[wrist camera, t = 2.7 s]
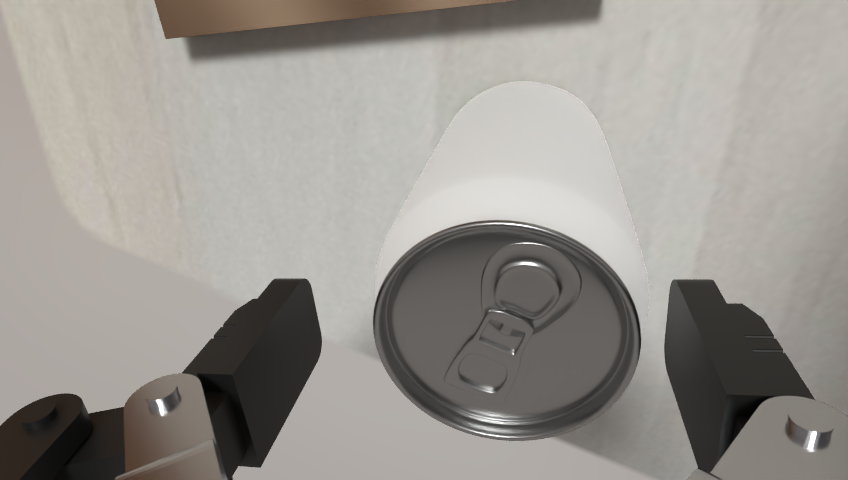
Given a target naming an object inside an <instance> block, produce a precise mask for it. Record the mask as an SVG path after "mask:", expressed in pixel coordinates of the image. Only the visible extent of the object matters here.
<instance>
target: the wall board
mask: <svg viewBox="0 0 848 480" xmlns="http://www.w3.org/2000/svg"><path fill="white" fill-rule="evenodd" d="M507 1H517V0H155V4H156V7H157V11H158V14H159V17H160V21H161V24H162V28H163V31H164V34H165V38H166V39H170V38H179V37H188V36H197V35H207V34H216V33H225V32H234V31H243V30H252V29H261V28H270V27H279V26H289V25H298V24H307V23H316V22H325V21H334V20H343V19H352V18H362V17H371V16H380V15H389V14H398V13H407V12H416V11H425V10H434V9H444V8H453V7H462V6H471V5H480V4H489V3H498V2H507Z"/></svg>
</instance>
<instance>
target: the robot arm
mask: <svg viewBox="0 0 848 480" xmlns="http://www.w3.org/2000/svg"><path fill="white" fill-rule="evenodd" d="M321 346H322V337H321V331H320V326H319V321H318V316H317V312H316V307H315V302H314V297H313V293H312V288H311V285H310V283H309V281H308V280H307V279H274V280H273V281H272V282H271V283H270V284H269V285H268V287H267V288H266V289H265V290H264V291H263V293H262V294H261V295H260V296H259V298H258V299H252V300H251V301H249V302H248V303H246V304H245V305H243V306H242V307H240V308H239V309H237V310H235V311H234V313H233V314H232V315H231V316H230V317H229V318H228V320H227V321H226V322H225V323H224V325H223V327H221V328H220V329H219V330H218V331H217V333H216V334H215V335H214V339H211V340H210V341H209V342H208V343H207V344H206V345H205V347H204V348H203V349H202V350H201V351H200V353H199V354H198V355H197V356H196V357H195V358H194V360H193V361H192V362H191V363H190V364H189V365H188V367H187V368H186V369H185V370H184V371H183V372H182V374H181V373H179V374H172V375H167V376H163V377H161V378H158V379H155V380H153V381H151V382H149V383H147V384H145V385H144V386H142V387H141V388H139V389H138V390H137V391H136V392H134V393H133V394H132V395H131V396H130V398H129V399H128V400H127V402H126V403H125V406H124V407H121V408H116V409H110V410H105V411H100V412H95V413H90V414H88V412H87V410H86V408H85V405H84V403H83V401H82V399H81V398H80V397H79V396H77V395H74V394H57V395H52V396H48V397H45V398H42V399H39V400H37V401H35V402H32V403H31V404H29V405H27V406H25V407H23V408H22V409H20V410H18V411H17V412H16V413H14V414H13V415H12V416H11V417H10V418H8V419H7V420H6V421H5V422H4V423H3V424H2V425H1V426H0V480H233V477H232V476H233V474H234V472H235V471H236V469H237V467H238V466H247V467H261V466H262V464H263V462H264V460H265V458H266V456H267V454H268V453H269V451H270V449H271V447H272V445H273V443H274V441H275V440H276V438H277V436H278V434H279V432H280V430H281V428H282V427H283V425H284V423H285V421H286V419H287V417H288V415H289V413H290V412H291V410H292V408H293V406H294V404H295V402H296V400H297V399H298V397H299V395H300V393H301V391H302V389H303V387H304V386H305V384H306V382H307V380H308V378H309V376H310V375H311V373H312V371H313V369H314V367H315V365H316V363H317V362H318V359H319V357H320V353H321ZM664 352H665V363H666V369H667V373H668V376H669V379H670V382H671V385H672V388H673V391H674V394H675V397H676V401H677V404H678V407H679V410H680V413H681V416H682V419H683V422H684V425H685V428H686V431H687V435H688V438H689V441H690V444H691V447H692V450H693V453H694V456H695V459H696V462H697V465H698V469H696V470H695V471H694V472H693V473H692V474H691V475H690V476H689V477H688V479H687V480H848V416H847V415H845V414H844V413H842V412H841V411H839V410H837V409H835V408H834V407H832V406H829V405H827V404H825V403H822V402H819V401H816V400H815V399H814V397H813V396H812V394H811V393H810V391H809V390H808V388H807V387H806V385H805V383H804V382H803V380H802V379H801V377H800V376H799V374H798V372H797V371H796V369H795V368H794V366H793V365H792V363H791V361H790V360H789V358H788V357H787V355H786V354H785V353H783V349H782V347H781V346H780V344H779V343H778V341H777V340H776V339H774V335H773V333H772V332H771V330H770V329H769V327H768V326H767V324H766V322H765V321H764V319H763V318H762V317H760V316H759V315H757V314H756V313H755V312H753V311H752V310H750V309H749V308H748V307H746V306H745V305H743V304H727V303H726V301H725V300H724V298H723V296H722V294H721V293H720V291H719V289H718V287H717V285H716V284H715V282H714V281H713V280H673V281H672V283H671V286H670V293H669V303H668V313H667V323H666V333H665V345H664Z"/></svg>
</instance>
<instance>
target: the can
mask: <svg viewBox="0 0 848 480" xmlns="http://www.w3.org/2000/svg"><path fill="white" fill-rule="evenodd" d="M375 300H376V302H375V307H374V315H373V330H374V338H375V343H376V347H377V350H378V353H379V356H380V359H381V361H382V363H383V365H384V367H385V369H386V371H387V373H388V374H389V376H390V377H391V379H392V381H393V382H394V383H395V385H396V386H397V387H398V388H399V389H400V391H401V392H402V393H403V394H404V395H405V396H406V397H407V398H408V399H409V400H410V401H411V402H412V403H414V404H415V405H416V406H417V407H418V408H420V409H421V410H422V411H424V412H425V413H427V414H428V415H430V416H431V417H433V418H434V419H437V420H438V421H440V422H442V423H444V424H446V425H448V426H450V427H452V428H455V429H457V430H460V431H463V432H466V433H469V434H472V435H476V436H480V437H485V438H490V439H497V440H509V441H525V440H537V439H543V438H549V437H553V436H557V435H561V434H564V433H567V432H570V431H572V430H575V429H577V428H579V427H581V426H583V425H585V424H587V423H589V422H591V421H592V420H594V419H596V418H597V417H598V416H600V415H601V414H603V413H604V412H605V411H606V410H607V409H609V408H610V407H611V406H612V405H613V404H614V403H615V402H616V401H617V400H618V398H619V397H620V396H621V395H622V393H623V392H624V391H625V389H626V388H627V386H628V384H629V383H630V381H631V379H632V377H633V375H634V372H635V370H636V367H637V364H638V360H639V355H640V349H641V336H642V333H643V331H644V328H645V324H646V321H647V316H648V310H649V285H648V276H647V271H646V267H645V263H644V259H643V255H642V251H641V248H640V244H639V241H638V238H637V234H636V231H635V228H634V225H633V222H632V218H631V215H630V212H629V209H628V206H627V203H626V200H625V196H624V193H623V190H622V187H621V184H620V181H619V178H618V175H617V172H616V169H615V166H614V163H613V160H612V157H611V154H610V151H609V148H608V145H607V142H606V139H605V137H604V134H603V132H602V129H601V127H600V125H599V123H598V122H597V120H596V118H595V117H594V115H593V114H592V113H591V111H590V110H589V109H588V108H587V107H586V105H585V104H584V103H583V102H582V101H581V100H579V99H578V98H577V97H576V96H574V95H573V94H571V93H569V92H567V91H565V90H563V89H561V88H558V87H555V86H552V85H548V84H544V83H538V82H530V81H516V82H509V83H504V84H500V85H497V86H494V87H492V88H489V89H487V90H485V91H483V92H481V93H480V94H478V95H477V96H475V97H474V98H472V99H471V100H470V101H469V102H468V103H466V104H465V105H464V106H463V107H462V108H461V109H460V110H459V112H458V113H457V114H456V115H455V117H454V118H453V120H452V121H451V123H450V124H449V126H448V127H447V129H446V131H445V132H444V134H443V136H442V137H441V139H440V141H439V142H438V144H437V146H436V148H435V149H434V151H433V153H432V155H431V156H430V158H429V160H428V162H427V163H426V165H425V167H424V169H423V170H422V172H421V174H420V176H419V177H418V179H417V181H416V183H415V184H414V186H413V188H412V190H411V192H410V193H409V195H408V197H407V199H406V201H405V202H404V204H403V206H402V208H401V210H400V211H399V213H398V215H397V217H396V219H395V221H394V222H393V224H392V226H391V228H390V230H389V232H388V234H387V236H386V239H385V241H384V243H383V246H382V249H381V252H380V255H379V258H378V262H377V266H376V272H375Z"/></svg>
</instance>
